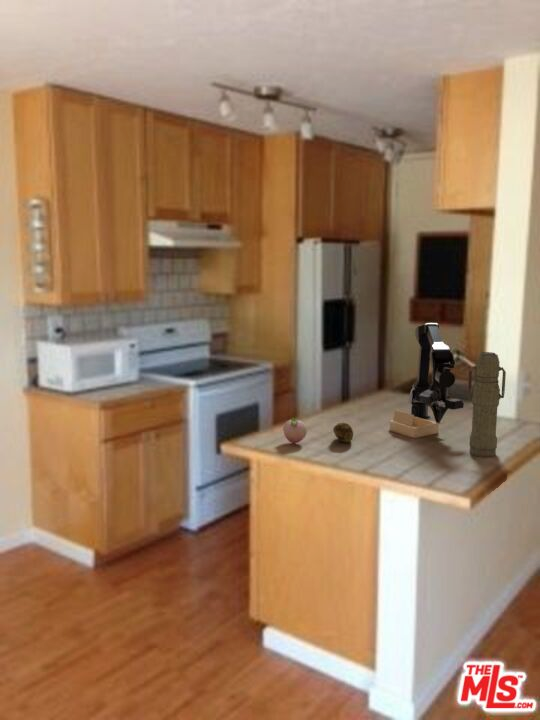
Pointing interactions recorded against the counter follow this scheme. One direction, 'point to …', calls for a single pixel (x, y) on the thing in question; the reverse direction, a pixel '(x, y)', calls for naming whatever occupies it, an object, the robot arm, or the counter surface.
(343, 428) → the potato
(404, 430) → the carton
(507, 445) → the counter surface
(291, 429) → the decorative fruit
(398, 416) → the far flap
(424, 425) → the left flap
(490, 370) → the thermos
